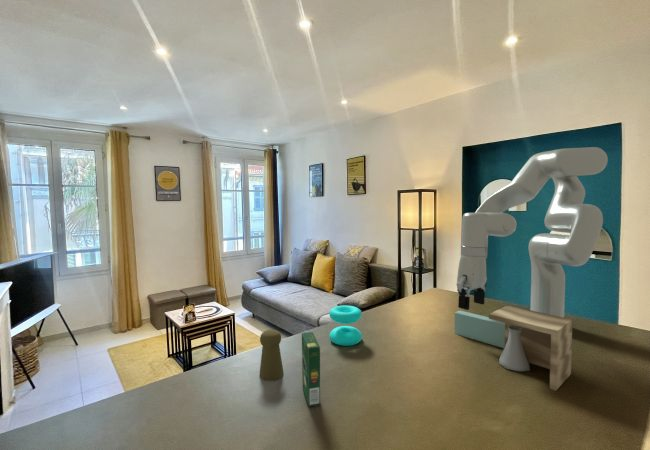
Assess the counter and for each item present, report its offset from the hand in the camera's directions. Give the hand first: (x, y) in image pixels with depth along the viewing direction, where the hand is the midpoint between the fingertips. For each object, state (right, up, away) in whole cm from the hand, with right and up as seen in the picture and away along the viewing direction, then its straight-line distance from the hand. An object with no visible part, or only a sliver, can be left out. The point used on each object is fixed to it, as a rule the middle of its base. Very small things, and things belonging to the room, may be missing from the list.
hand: (471, 305), depth 103 cm
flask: (+3, -11, -18) cm, 22 cm away
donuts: (-40, -11, -1) cm, 41 cm away
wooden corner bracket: (+5, -11, -21) cm, 24 cm away
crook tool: (+7, -10, -2) cm, 12 cm away
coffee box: (-49, -13, -31) cm, 59 cm away
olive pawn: (-60, -12, -21) cm, 64 cm away
